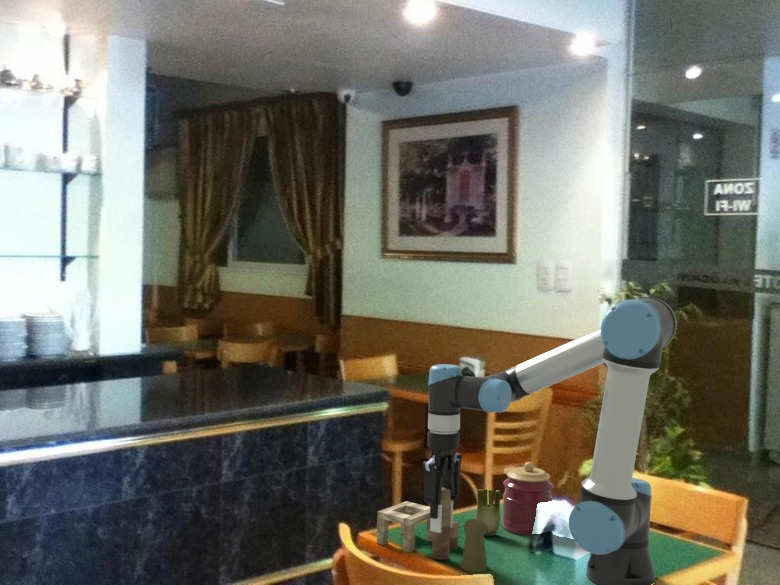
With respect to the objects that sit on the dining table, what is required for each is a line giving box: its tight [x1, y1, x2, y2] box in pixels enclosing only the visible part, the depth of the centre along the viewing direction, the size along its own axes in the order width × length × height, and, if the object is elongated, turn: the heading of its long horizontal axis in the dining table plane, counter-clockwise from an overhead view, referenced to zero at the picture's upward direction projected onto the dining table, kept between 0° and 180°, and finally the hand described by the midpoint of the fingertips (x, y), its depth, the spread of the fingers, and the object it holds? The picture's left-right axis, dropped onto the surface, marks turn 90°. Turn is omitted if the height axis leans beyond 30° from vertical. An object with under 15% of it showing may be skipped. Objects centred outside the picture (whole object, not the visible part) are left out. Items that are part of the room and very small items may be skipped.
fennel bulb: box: [474, 488, 502, 537], centre depth 243 cm, size 6×5×12 cm
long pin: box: [431, 487, 451, 560], centre depth 224 cm, size 4×4×16 cm
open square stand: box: [376, 500, 433, 553], centre depth 236 cm, size 10×12×8 cm
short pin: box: [449, 520, 460, 551], centre depth 233 cm, size 4×4×6 cm
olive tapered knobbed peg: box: [460, 518, 488, 573], centre depth 220 cm, size 6×6×11 cm
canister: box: [501, 461, 554, 536], centre depth 249 cm, size 13×13×18 cm
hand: (441, 528), depth 224 cm, fingers closed on long pin, 4 cm apart
